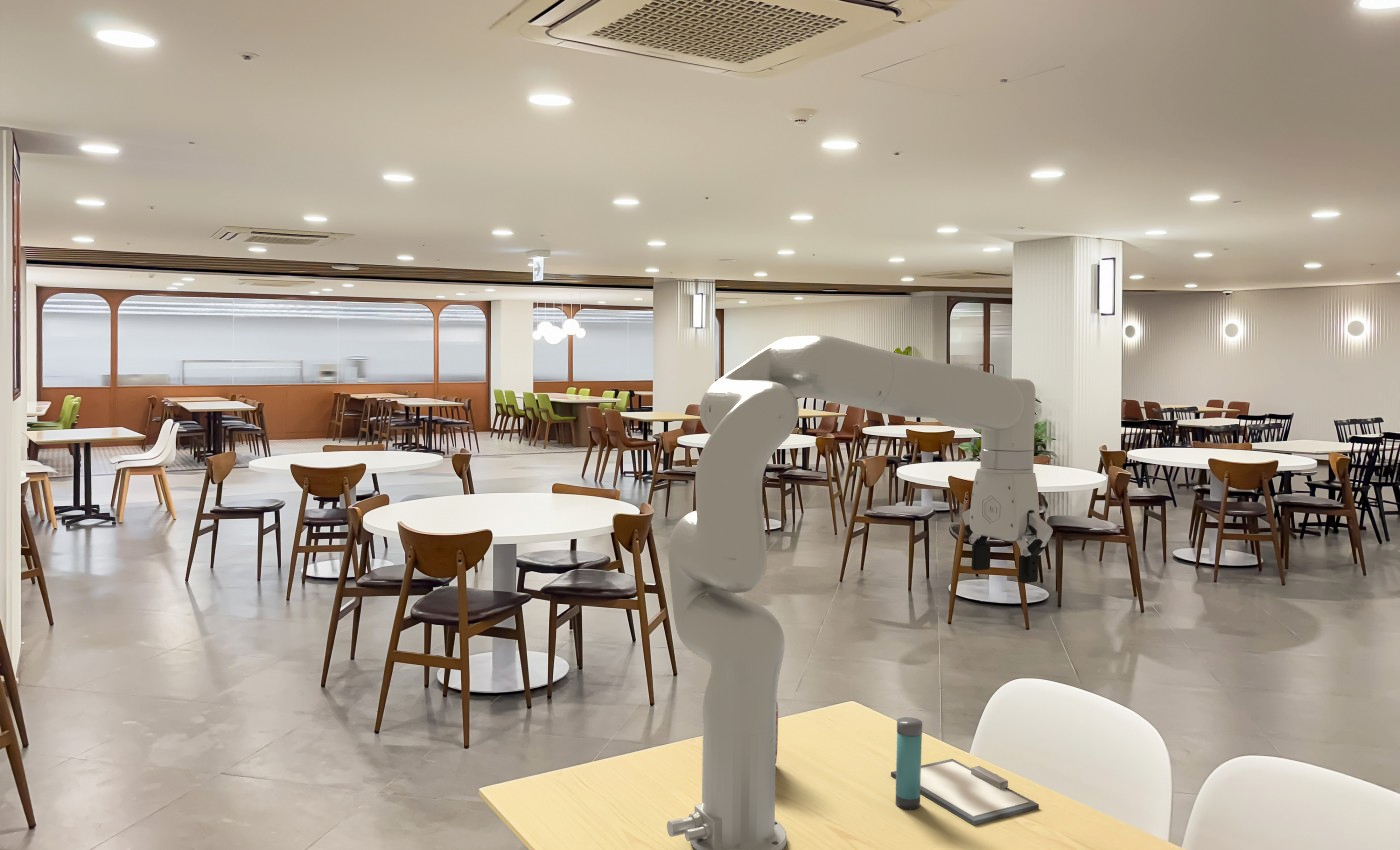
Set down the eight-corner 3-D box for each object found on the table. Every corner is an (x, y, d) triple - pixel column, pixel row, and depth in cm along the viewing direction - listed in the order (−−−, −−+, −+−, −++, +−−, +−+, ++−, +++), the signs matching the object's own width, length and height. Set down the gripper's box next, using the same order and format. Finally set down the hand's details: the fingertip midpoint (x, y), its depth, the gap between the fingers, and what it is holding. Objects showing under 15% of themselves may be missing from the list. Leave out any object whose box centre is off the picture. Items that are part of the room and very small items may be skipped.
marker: (905, 811, 137) (907, 727, 137) (890, 802, 140) (891, 719, 140) (925, 807, 139) (927, 723, 138) (909, 797, 142) (911, 715, 141)
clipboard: (973, 825, 133) (973, 813, 133) (890, 775, 149) (891, 764, 149) (1038, 808, 139) (1039, 796, 139) (952, 762, 155) (952, 751, 155)
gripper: (947, 457, 152) (945, 567, 153) (1031, 468, 137) (1028, 589, 137) (984, 456, 155) (981, 563, 156) (1070, 466, 140) (1067, 585, 141)
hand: (1003, 575), depth 147 cm, fingers open, 9 cm apart
